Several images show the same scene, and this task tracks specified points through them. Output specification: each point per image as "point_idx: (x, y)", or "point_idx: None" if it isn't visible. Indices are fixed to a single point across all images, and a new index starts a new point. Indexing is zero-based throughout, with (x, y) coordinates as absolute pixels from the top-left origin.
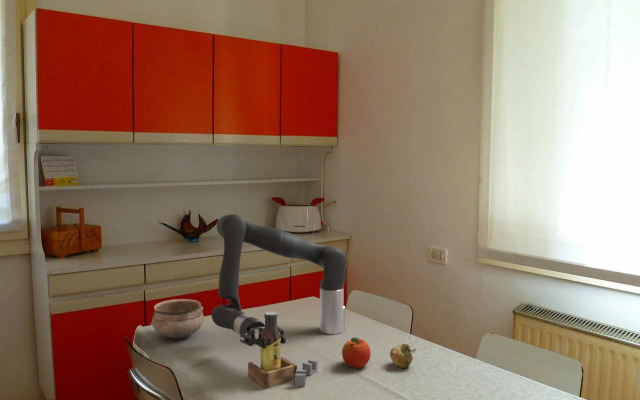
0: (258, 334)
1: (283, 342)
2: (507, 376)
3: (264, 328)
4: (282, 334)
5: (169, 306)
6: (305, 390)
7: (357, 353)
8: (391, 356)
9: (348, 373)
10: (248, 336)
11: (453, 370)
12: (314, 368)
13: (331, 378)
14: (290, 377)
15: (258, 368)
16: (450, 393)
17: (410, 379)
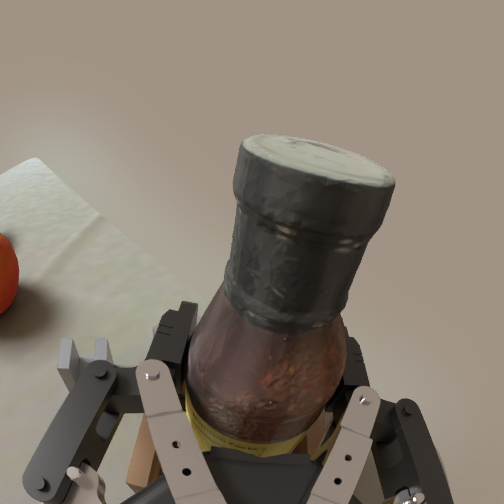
0: (342, 427)
1: (196, 323)
2: (3, 177)
3: (336, 329)
4: (117, 374)
5: None
6: None
7: (11, 246)
8: None
9: (46, 297)
10: (416, 444)
11: None
12: (78, 360)
13: (95, 313)
14: None
15: (316, 425)
16: (67, 188)
17: (36, 221)
